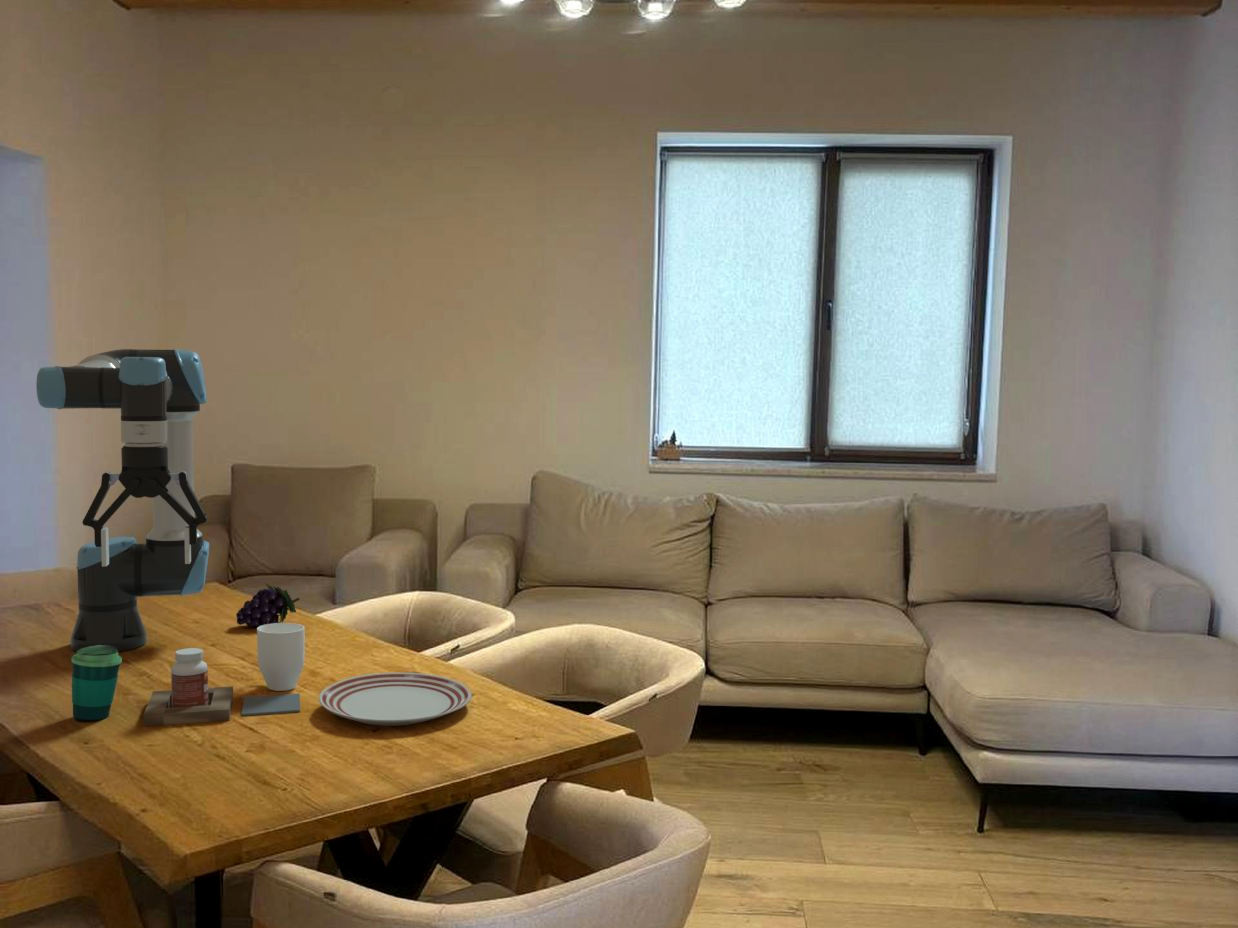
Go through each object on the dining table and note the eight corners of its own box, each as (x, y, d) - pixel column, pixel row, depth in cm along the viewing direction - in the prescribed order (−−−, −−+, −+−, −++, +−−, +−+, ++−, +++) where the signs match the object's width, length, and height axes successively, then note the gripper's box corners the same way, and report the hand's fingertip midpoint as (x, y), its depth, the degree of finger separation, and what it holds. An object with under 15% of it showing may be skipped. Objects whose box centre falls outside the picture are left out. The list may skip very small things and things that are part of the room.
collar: (153, 701, 205) (153, 691, 204) (233, 696, 209) (233, 686, 208) (143, 726, 191) (143, 715, 191) (229, 720, 195) (228, 709, 195)
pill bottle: (212, 712, 199) (211, 652, 198) (176, 718, 196) (174, 657, 195) (204, 703, 204) (202, 644, 203) (168, 708, 201) (167, 649, 200)
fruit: (238, 637, 263) (297, 614, 271) (251, 640, 254) (311, 616, 262) (224, 597, 261) (284, 575, 270) (236, 598, 253) (298, 575, 261)
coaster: (244, 698, 207) (244, 696, 207) (299, 695, 210) (299, 693, 210) (241, 715, 198) (241, 713, 198) (299, 711, 200) (299, 709, 200)
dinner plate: (496, 697, 212) (496, 680, 211) (425, 744, 186) (425, 724, 186) (371, 681, 221) (370, 664, 220) (287, 723, 195) (287, 705, 195)
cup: (73, 711, 198) (71, 646, 197) (123, 706, 202) (121, 642, 200) (71, 725, 191) (69, 657, 190) (122, 720, 194) (121, 653, 193)
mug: (313, 688, 214) (313, 627, 213) (270, 697, 208) (270, 635, 207) (284, 675, 223) (284, 616, 222) (243, 683, 217) (242, 623, 216)
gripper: (62, 446, 188) (65, 570, 190) (218, 445, 194) (219, 565, 196) (71, 443, 195) (74, 562, 197) (221, 443, 202) (223, 558, 203)
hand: (147, 564), depth 197 cm, fingers open, 13 cm apart
